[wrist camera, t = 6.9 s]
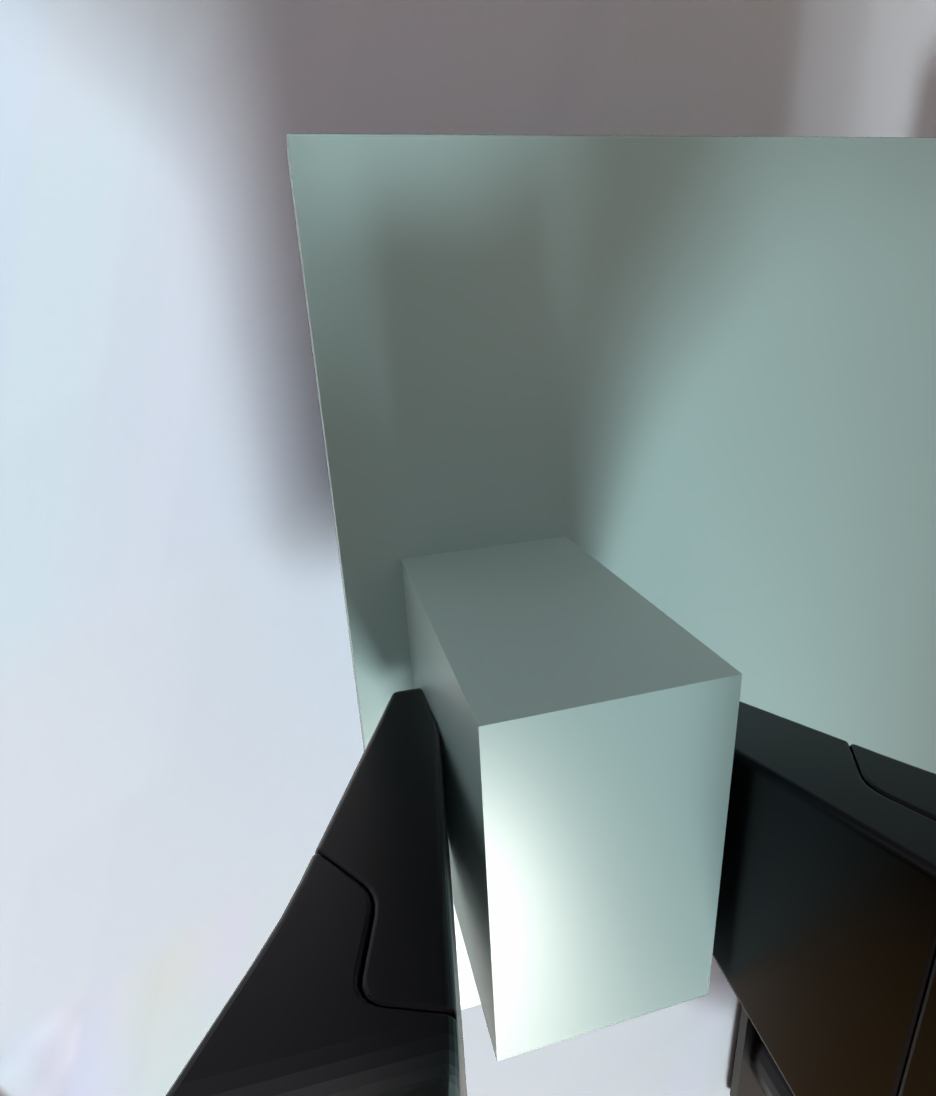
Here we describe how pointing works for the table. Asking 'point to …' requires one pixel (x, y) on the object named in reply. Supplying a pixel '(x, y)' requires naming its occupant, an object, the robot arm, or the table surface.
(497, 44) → the table surface
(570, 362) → the lid
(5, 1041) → the table surface
